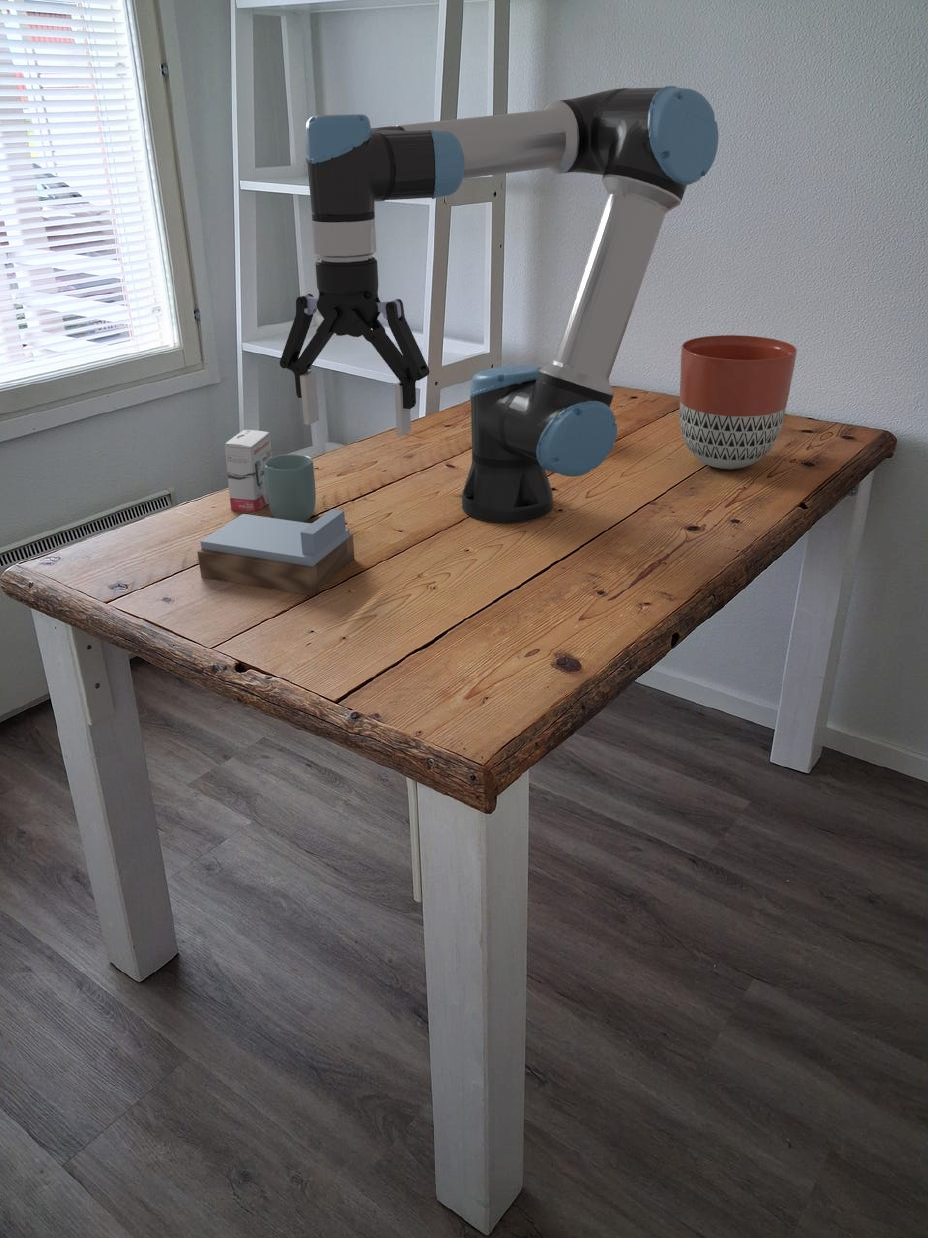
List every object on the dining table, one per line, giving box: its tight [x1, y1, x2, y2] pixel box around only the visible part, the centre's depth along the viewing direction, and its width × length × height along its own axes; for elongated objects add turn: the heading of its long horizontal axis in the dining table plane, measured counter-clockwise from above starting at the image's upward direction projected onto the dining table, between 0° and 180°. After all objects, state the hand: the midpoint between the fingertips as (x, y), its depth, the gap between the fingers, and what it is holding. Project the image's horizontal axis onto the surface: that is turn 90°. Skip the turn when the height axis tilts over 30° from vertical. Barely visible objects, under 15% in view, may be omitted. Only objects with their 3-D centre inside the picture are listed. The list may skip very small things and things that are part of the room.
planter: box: [679, 334, 798, 470], centre depth 179 cm, size 20×20×21 cm
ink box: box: [224, 429, 273, 513], centre depth 168 cm, size 9×5×12 cm, turn 168°
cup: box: [263, 453, 317, 523], centre depth 161 cm, size 8×8×10 cm
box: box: [197, 533, 355, 597], centre depth 145 cm, size 18×13×4 cm
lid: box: [200, 508, 350, 567], centre depth 143 cm, size 18×11×4 cm, turn 68°
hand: (357, 427), depth 131 cm, fingers open, 13 cm apart
